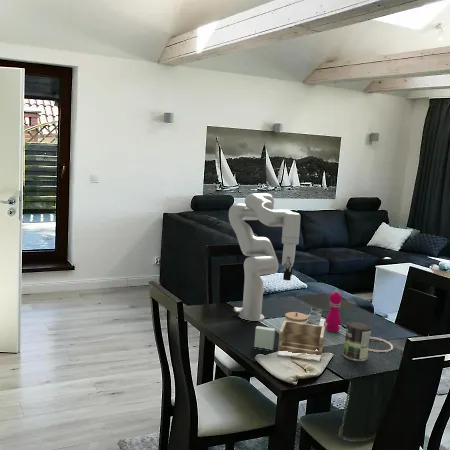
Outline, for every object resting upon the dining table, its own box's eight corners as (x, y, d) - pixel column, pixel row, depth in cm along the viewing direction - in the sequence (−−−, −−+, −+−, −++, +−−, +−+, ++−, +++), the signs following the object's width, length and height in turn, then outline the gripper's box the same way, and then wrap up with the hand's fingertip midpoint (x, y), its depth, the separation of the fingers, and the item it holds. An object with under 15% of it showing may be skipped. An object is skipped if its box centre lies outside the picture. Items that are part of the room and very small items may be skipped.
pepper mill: (340, 333, 262) (344, 292, 259) (324, 331, 263) (328, 290, 260) (340, 328, 269) (344, 288, 266) (325, 326, 270) (329, 286, 267)
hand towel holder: (376, 346, 237) (342, 330, 254) (374, 356, 238) (341, 339, 255) (402, 340, 246) (368, 325, 263) (401, 349, 247) (367, 334, 264)
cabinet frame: (277, 354, 230) (279, 332, 229) (282, 342, 245) (284, 320, 244) (320, 361, 226) (322, 338, 225) (322, 348, 241) (325, 326, 240)
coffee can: (347, 360, 229) (350, 328, 227) (340, 351, 239) (343, 320, 237) (371, 361, 230) (375, 329, 228) (363, 351, 240) (366, 321, 238)
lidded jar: (309, 330, 263) (311, 311, 261) (302, 337, 253) (304, 317, 252) (287, 325, 267) (289, 307, 266) (280, 332, 258) (282, 313, 256)
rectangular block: (254, 348, 236) (255, 328, 235) (255, 345, 239) (256, 325, 237) (272, 351, 234) (274, 330, 233) (273, 348, 237) (275, 328, 236)
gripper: (283, 236, 253) (280, 272, 255) (280, 242, 236) (277, 281, 239) (299, 237, 252) (297, 274, 254) (297, 243, 235) (295, 282, 237)
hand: (287, 277), depth 246 cm, fingers open, 9 cm apart
